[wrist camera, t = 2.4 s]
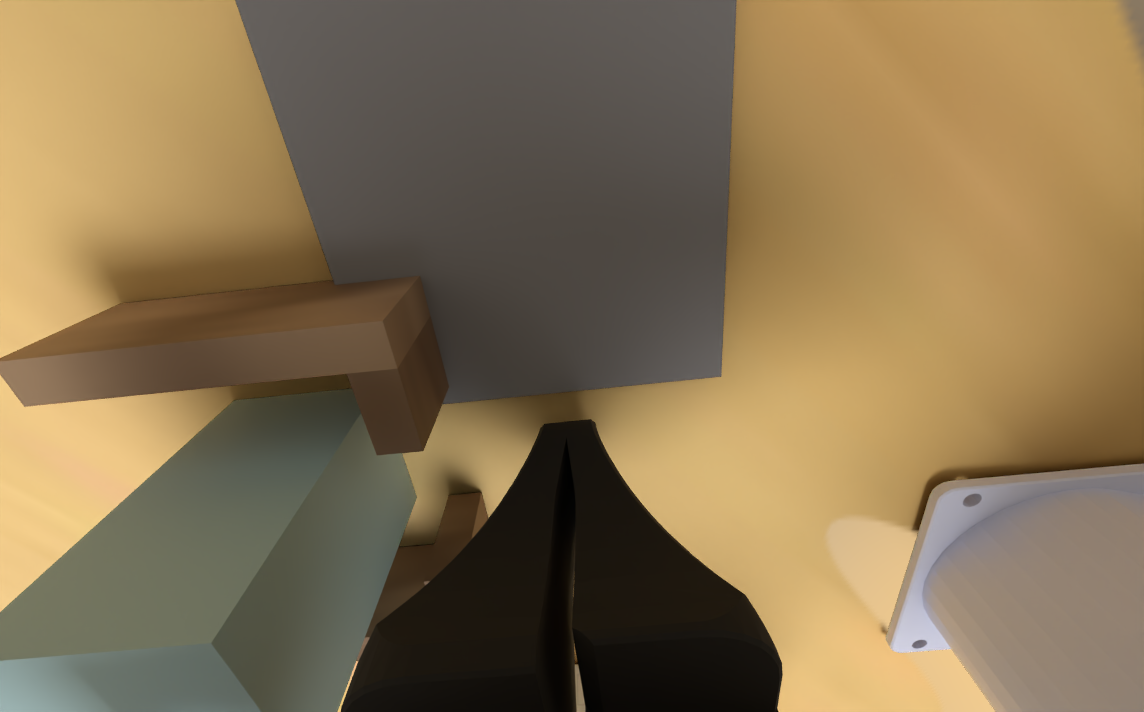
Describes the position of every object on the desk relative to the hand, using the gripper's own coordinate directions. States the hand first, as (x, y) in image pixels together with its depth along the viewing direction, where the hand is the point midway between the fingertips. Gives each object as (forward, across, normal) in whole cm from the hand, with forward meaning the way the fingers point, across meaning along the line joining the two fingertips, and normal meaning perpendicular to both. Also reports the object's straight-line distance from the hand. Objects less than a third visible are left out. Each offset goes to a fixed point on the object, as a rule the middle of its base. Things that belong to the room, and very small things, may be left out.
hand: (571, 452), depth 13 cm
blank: (+1, +7, 0) cm, 7 cm away
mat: (+1, 0, -6) cm, 6 cm away
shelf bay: (+1, +7, 0) cm, 7 cm away
